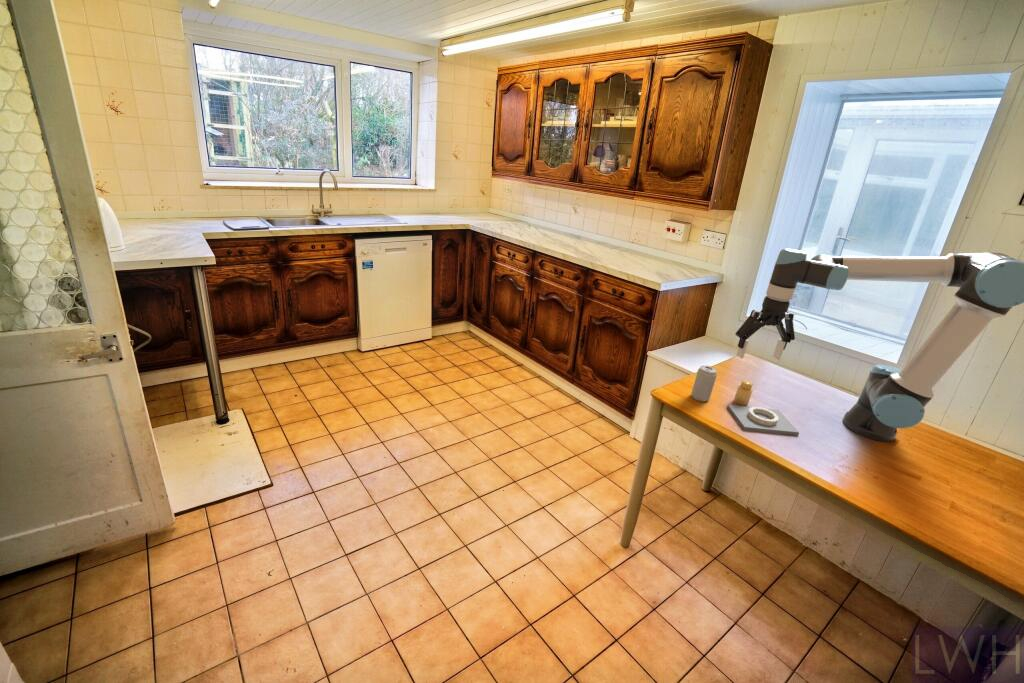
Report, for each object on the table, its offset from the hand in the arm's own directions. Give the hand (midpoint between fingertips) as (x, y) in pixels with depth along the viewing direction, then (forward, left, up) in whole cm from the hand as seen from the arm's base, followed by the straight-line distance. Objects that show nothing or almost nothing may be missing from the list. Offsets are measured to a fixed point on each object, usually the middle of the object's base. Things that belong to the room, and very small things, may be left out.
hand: (758, 357), depth 161 cm
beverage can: (+14, -4, -20) cm, 24 cm away
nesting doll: (-1, -4, -20) cm, 20 cm away
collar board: (-3, +8, -20) cm, 22 cm away
